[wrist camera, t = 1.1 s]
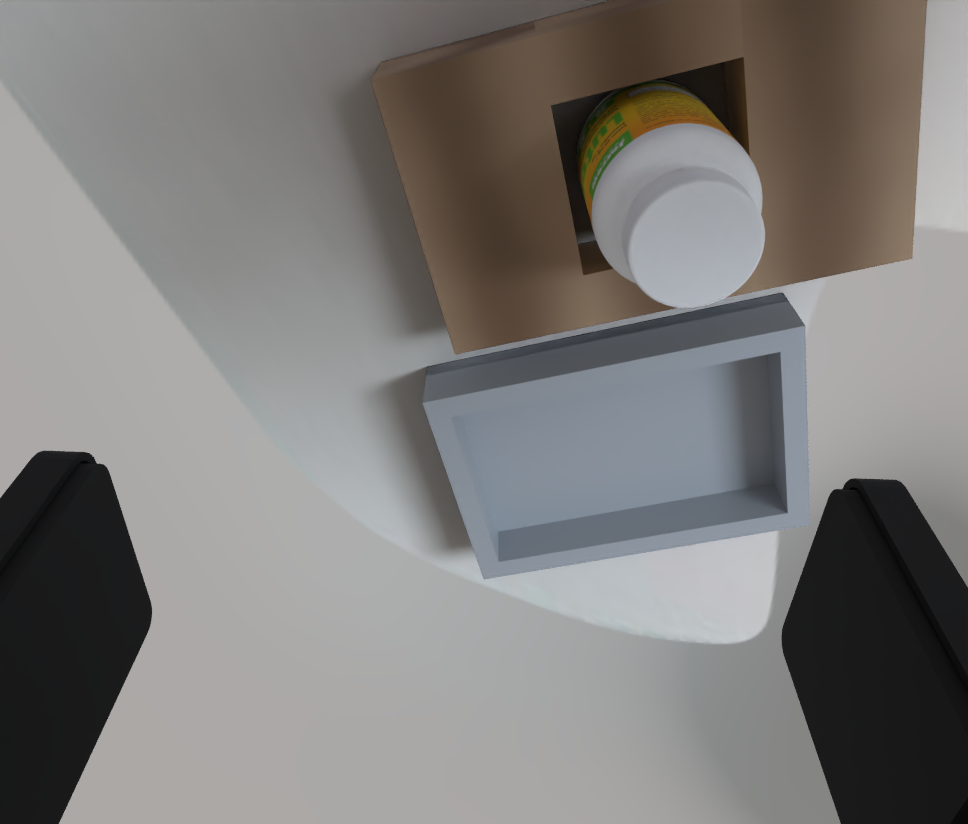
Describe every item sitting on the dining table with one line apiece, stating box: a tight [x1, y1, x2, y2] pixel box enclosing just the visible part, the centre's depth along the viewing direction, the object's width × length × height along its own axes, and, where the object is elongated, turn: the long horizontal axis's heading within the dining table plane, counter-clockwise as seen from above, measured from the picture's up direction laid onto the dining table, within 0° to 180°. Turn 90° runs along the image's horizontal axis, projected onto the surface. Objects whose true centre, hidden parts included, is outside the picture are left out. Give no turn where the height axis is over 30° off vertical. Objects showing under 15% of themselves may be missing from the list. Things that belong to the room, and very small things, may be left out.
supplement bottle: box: [577, 80, 765, 308], centre depth 27 cm, size 5×5×10 cm
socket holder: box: [371, 0, 927, 354], centre depth 30 cm, size 18×11×3 cm, turn 104°
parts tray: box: [422, 293, 810, 579], centre depth 38 cm, size 16×11×3 cm
